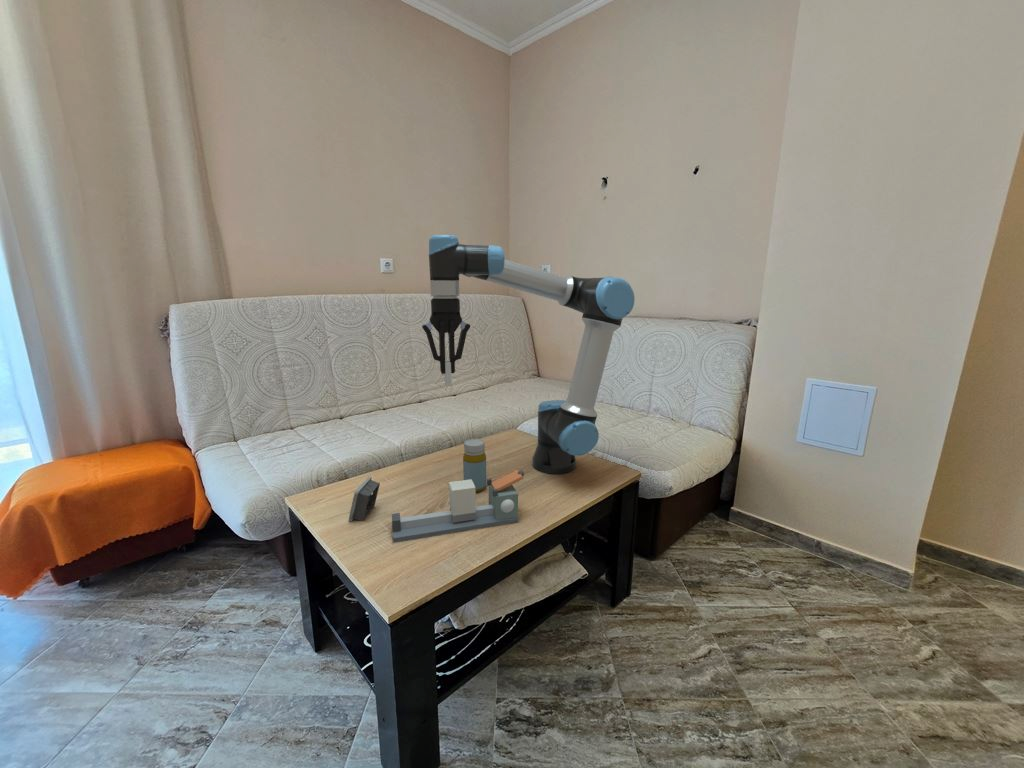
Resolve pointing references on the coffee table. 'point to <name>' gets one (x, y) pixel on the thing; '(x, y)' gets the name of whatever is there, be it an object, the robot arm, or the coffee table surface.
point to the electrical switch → (364, 499)
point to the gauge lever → (508, 480)
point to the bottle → (475, 463)
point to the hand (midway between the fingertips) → (448, 384)
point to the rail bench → (441, 523)
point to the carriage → (462, 500)
